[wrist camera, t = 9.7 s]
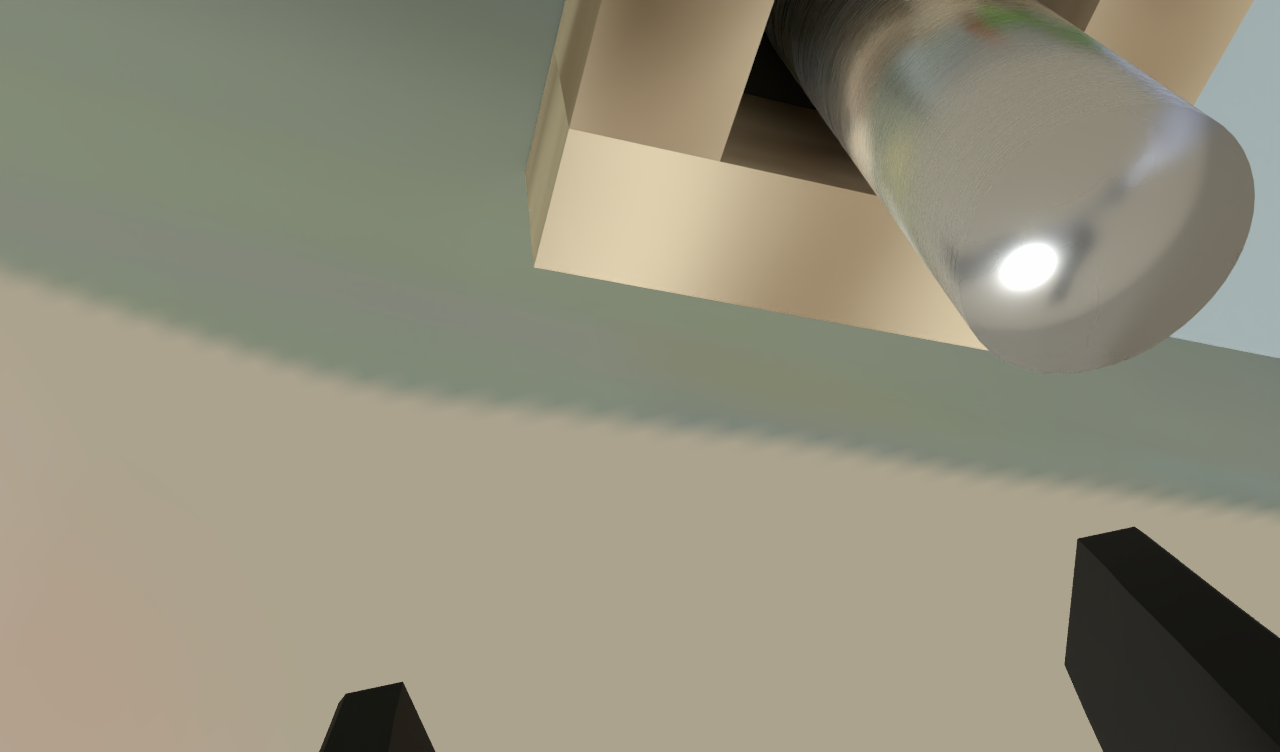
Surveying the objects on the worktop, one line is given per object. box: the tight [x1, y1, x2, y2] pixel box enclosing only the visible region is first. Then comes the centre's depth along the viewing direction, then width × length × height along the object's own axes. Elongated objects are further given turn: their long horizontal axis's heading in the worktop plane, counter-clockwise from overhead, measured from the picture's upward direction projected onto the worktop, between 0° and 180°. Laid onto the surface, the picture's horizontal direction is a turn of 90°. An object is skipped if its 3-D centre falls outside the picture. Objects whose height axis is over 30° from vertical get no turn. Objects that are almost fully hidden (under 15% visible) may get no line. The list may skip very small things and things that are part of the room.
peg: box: [765, 0, 1255, 373], centre depth 14 cm, size 3×3×9 cm
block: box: [525, 0, 1254, 351], centre depth 16 cm, size 9×9×4 cm
